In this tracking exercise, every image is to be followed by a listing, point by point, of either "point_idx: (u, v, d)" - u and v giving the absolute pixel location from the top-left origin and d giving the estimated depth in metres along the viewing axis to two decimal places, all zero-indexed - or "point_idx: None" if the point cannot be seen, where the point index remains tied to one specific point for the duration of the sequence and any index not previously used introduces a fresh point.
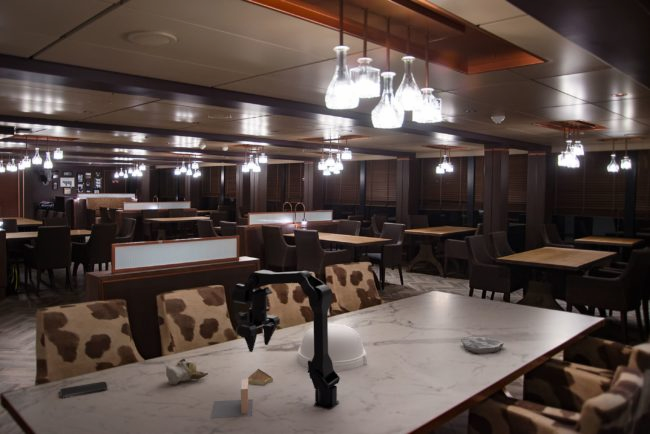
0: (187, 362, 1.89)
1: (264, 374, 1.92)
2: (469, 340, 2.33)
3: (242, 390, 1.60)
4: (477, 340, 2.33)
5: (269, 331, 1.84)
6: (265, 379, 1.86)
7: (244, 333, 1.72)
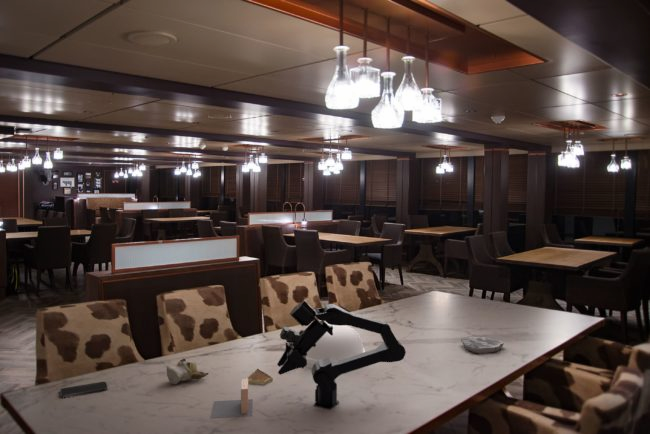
0: (187, 362, 1.89)
1: (264, 374, 1.92)
2: (469, 340, 2.33)
3: (242, 390, 1.60)
4: (477, 340, 2.33)
5: None
6: (265, 379, 1.86)
7: (298, 363, 1.57)
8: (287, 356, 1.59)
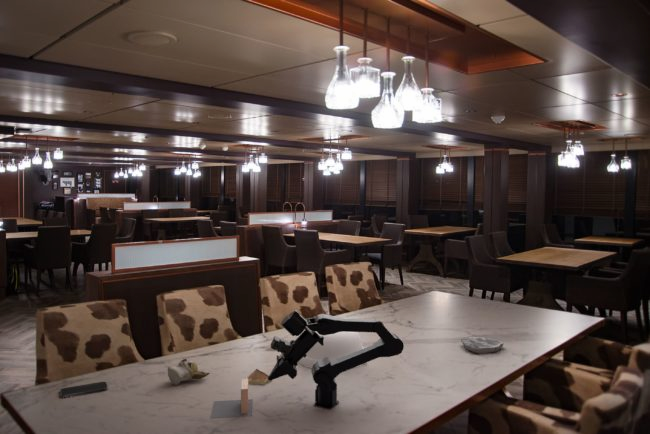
0: (188, 362, 1.89)
1: (263, 374, 1.92)
2: (469, 340, 2.33)
3: (242, 390, 1.60)
4: (477, 340, 2.33)
5: None
6: (265, 379, 1.86)
7: (288, 373, 1.57)
8: (277, 362, 1.63)
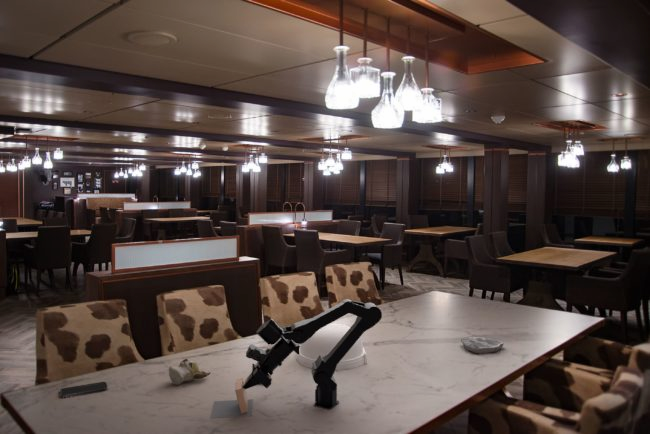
0: (189, 362, 1.89)
1: None
2: (469, 340, 2.33)
3: (236, 391, 1.60)
4: (477, 340, 2.33)
5: None
6: None
7: (262, 383, 1.56)
8: (252, 371, 1.62)
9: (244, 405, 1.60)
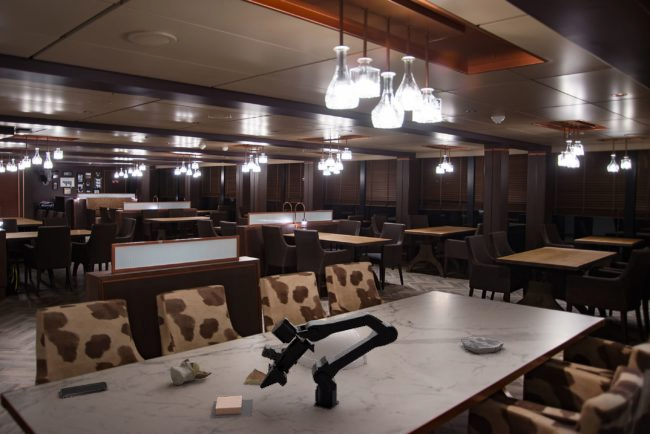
0: (191, 362, 1.89)
1: (262, 374, 1.92)
2: (469, 340, 2.33)
3: (217, 413, 1.59)
4: (477, 340, 2.33)
5: None
6: None
7: (278, 381, 1.56)
8: (268, 370, 1.63)
9: (233, 408, 1.60)
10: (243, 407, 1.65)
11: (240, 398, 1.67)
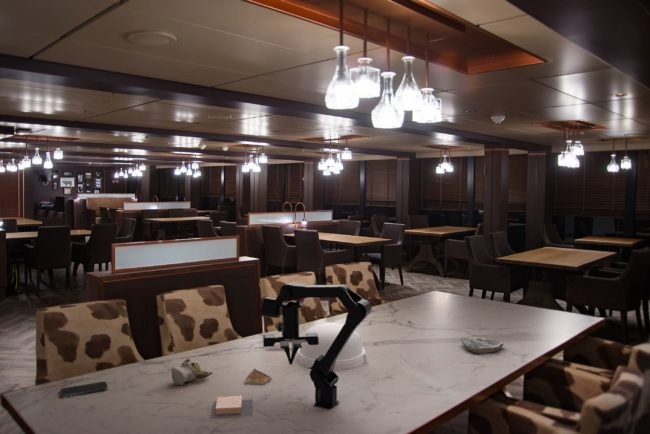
0: (191, 362, 1.89)
1: (262, 374, 1.92)
2: (469, 340, 2.33)
3: (217, 413, 1.59)
4: (477, 340, 2.33)
5: (292, 350, 1.71)
6: (264, 379, 1.87)
7: None
8: None
9: (233, 408, 1.60)
10: (243, 407, 1.65)
11: (240, 398, 1.67)
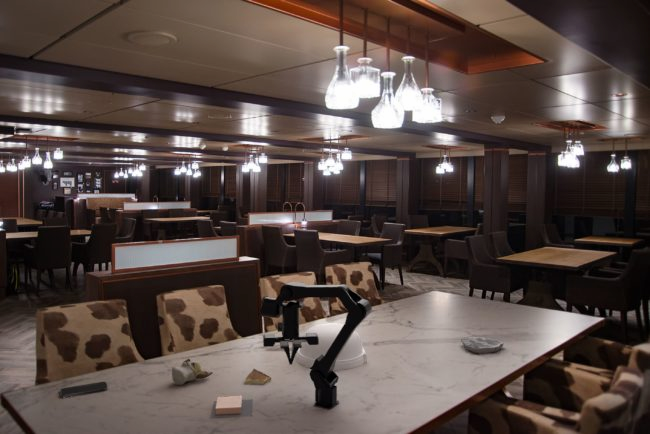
0: (192, 362, 1.89)
1: (261, 374, 1.92)
2: (469, 340, 2.33)
3: (217, 413, 1.59)
4: (477, 340, 2.33)
5: (292, 350, 1.71)
6: (264, 379, 1.87)
7: None
8: None
9: (233, 408, 1.60)
10: (243, 407, 1.65)
11: (240, 398, 1.67)
